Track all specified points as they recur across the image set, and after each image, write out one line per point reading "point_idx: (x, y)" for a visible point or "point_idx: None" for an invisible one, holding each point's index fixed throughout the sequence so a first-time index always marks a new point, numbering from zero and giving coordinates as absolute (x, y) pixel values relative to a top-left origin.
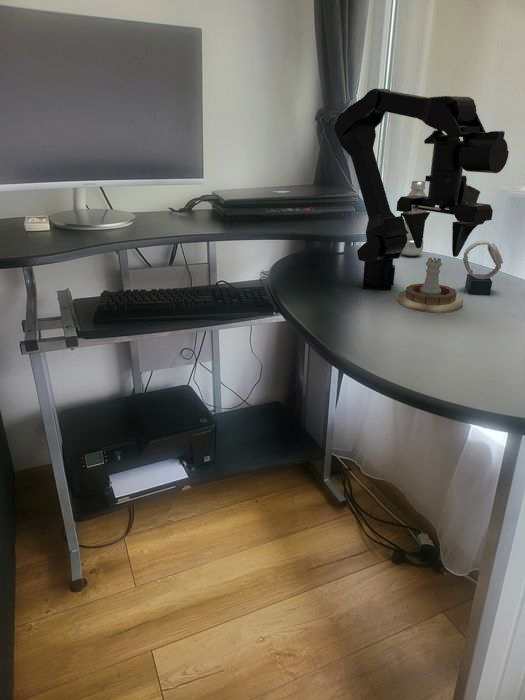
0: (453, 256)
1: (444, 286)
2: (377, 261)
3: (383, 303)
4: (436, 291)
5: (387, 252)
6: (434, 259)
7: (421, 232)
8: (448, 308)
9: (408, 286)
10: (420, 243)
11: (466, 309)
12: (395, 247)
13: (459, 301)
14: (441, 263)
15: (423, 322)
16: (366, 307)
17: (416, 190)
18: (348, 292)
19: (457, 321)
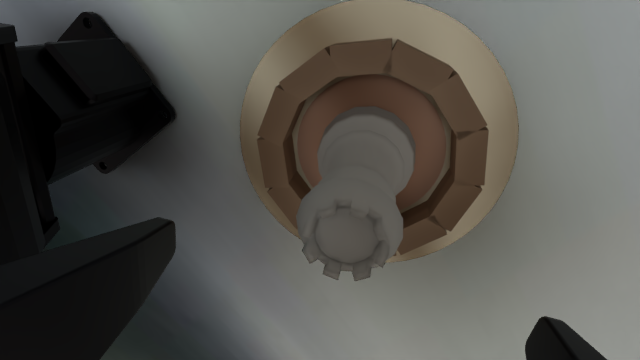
0: (530, 348)
1: (384, 54)
2: (48, 206)
3: (263, 254)
4: (404, 185)
5: (38, 229)
6: (329, 211)
7: (64, 312)
8: (487, 211)
9: (264, 175)
10: (153, 252)
11: (539, 123)
12: (11, 195)
13: (499, 111)
14: (395, 221)
15: (455, 328)
16: (255, 309)
17: None
18: (119, 228)
19: (550, 267)
